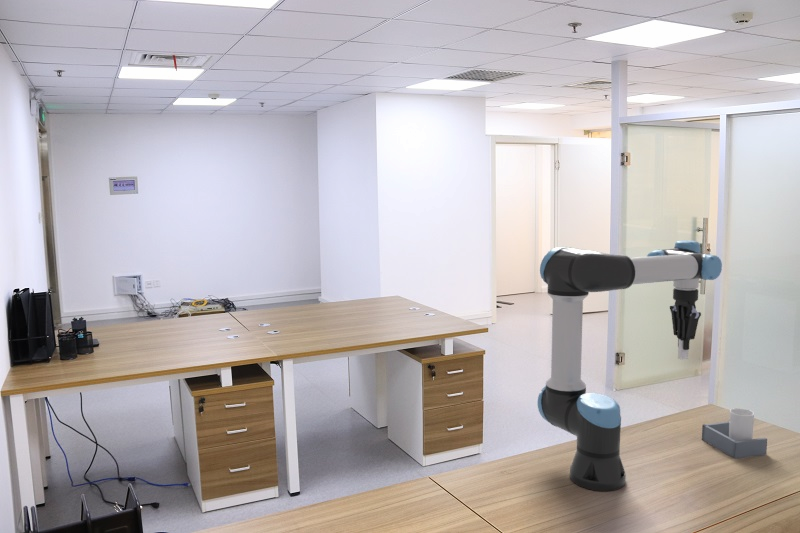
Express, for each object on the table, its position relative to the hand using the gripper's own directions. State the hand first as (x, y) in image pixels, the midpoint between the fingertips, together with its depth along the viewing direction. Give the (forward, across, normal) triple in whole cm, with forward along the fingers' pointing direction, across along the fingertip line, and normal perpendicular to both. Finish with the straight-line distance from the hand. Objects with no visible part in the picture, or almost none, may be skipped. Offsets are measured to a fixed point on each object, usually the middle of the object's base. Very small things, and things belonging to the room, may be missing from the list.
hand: (683, 358), depth 218 cm
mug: (+25, -17, -8) cm, 31 cm away
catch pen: (+24, -17, -6) cm, 30 cm away
